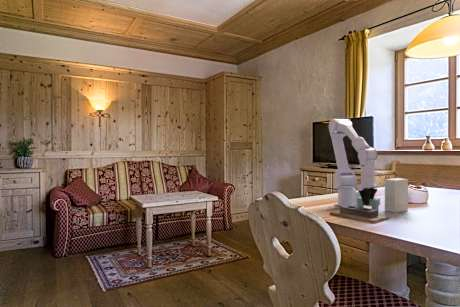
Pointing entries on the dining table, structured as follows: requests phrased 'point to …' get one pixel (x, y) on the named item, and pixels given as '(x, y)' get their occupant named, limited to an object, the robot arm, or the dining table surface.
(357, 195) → the lattice window wall
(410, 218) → the dining table surface
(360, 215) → the rail stand
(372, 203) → the clip
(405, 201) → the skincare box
